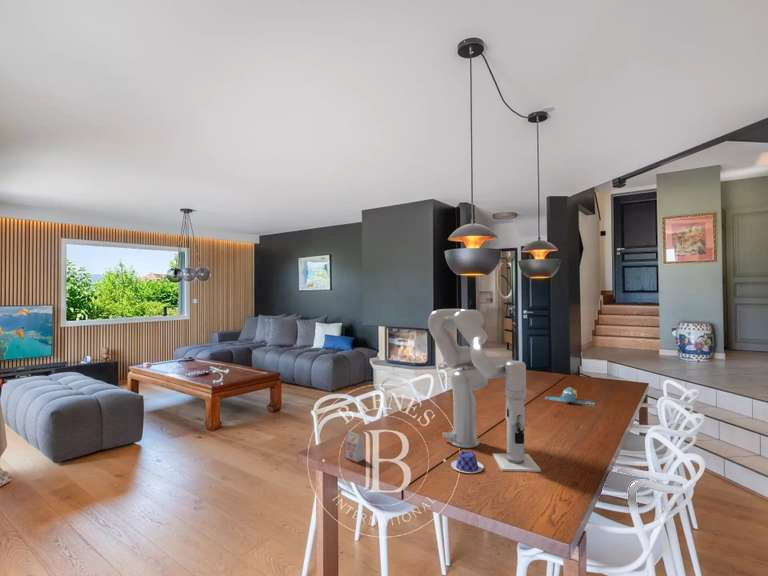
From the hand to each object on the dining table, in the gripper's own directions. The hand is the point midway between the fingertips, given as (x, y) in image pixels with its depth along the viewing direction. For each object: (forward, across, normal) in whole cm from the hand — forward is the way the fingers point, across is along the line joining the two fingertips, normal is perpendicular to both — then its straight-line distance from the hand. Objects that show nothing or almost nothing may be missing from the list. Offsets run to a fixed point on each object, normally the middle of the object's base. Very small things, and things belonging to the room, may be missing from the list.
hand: (515, 438), depth 153 cm
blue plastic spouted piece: (+10, -88, +58) cm, 106 cm away
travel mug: (+9, 0, 0) cm, 9 cm away
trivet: (+9, 0, 0) cm, 9 cm away
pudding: (+10, +4, -19) cm, 22 cm away
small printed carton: (+10, -2, -62) cm, 63 cm away
